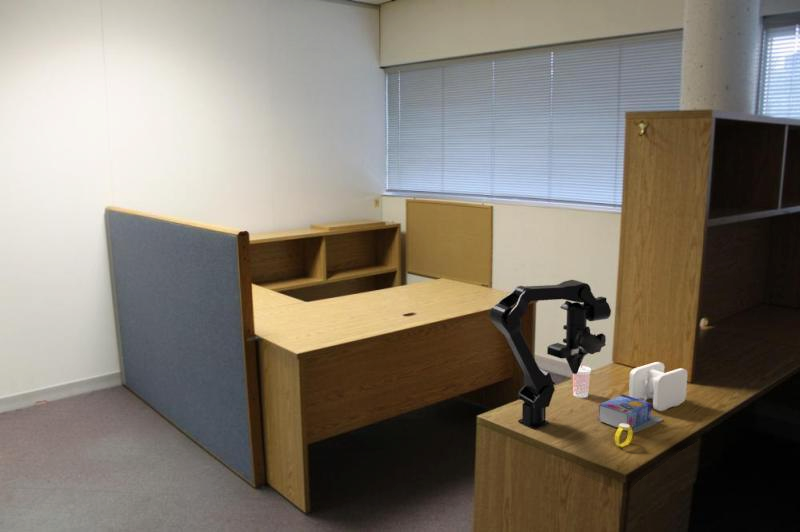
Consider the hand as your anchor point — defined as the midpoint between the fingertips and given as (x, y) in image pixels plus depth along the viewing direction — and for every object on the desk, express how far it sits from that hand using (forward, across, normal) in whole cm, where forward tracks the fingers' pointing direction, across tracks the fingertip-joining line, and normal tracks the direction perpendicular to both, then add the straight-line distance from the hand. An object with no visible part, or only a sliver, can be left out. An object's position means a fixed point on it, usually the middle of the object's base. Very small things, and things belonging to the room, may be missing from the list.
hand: (574, 373), depth 200 cm
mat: (+13, +10, -13) cm, 21 cm away
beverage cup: (+13, +14, +9) cm, 21 cm away
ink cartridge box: (+10, +2, -13) cm, 16 cm away
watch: (+13, -5, -22) cm, 26 cm away
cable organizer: (+13, +27, -10) cm, 32 cm away
